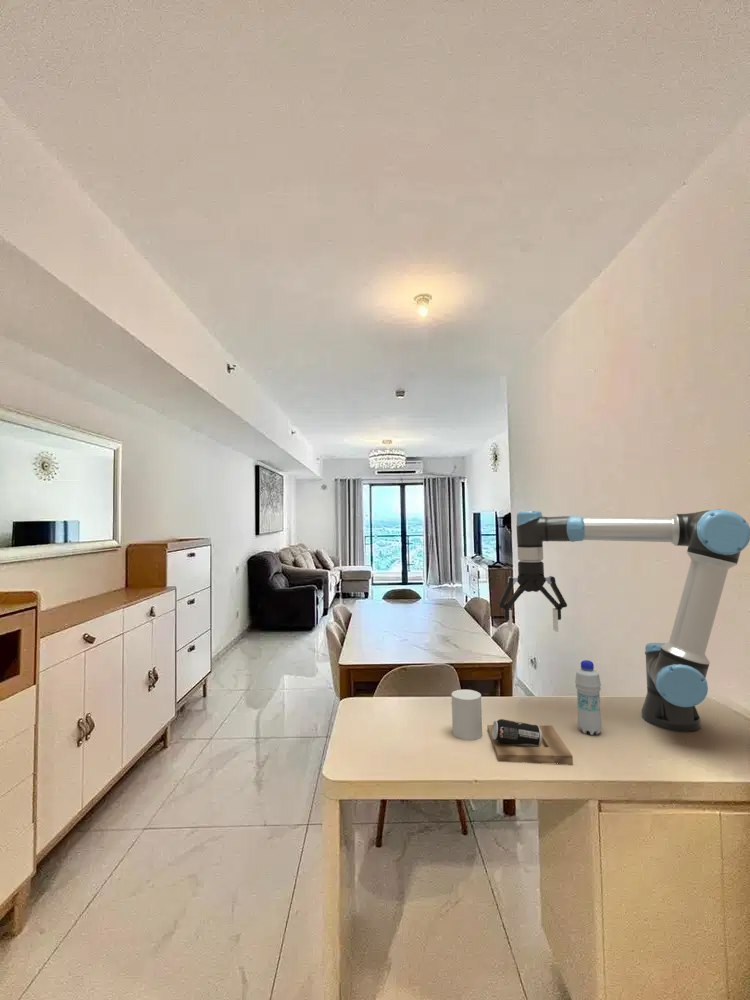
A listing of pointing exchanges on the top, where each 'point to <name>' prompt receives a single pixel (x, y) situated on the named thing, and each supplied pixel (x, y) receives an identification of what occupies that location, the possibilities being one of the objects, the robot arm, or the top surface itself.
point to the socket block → (534, 749)
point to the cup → (466, 714)
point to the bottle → (588, 698)
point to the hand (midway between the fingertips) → (533, 630)
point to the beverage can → (517, 733)
